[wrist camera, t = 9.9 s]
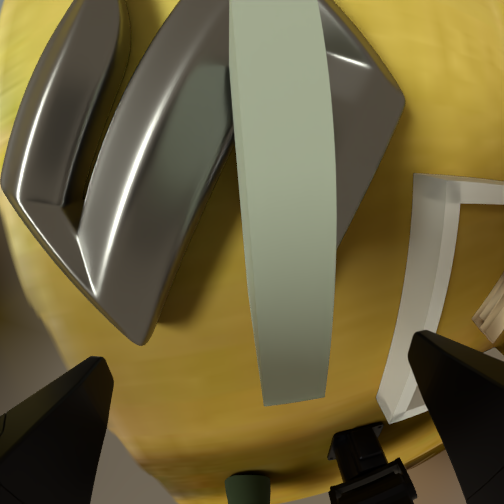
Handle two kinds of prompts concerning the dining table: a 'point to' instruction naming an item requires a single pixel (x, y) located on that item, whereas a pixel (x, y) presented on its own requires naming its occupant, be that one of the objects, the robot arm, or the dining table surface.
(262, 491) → the character mug
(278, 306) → the pale green rectangular slab
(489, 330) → the offcut stack
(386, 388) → the rack
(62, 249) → the emblem
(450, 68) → the dining table surface
